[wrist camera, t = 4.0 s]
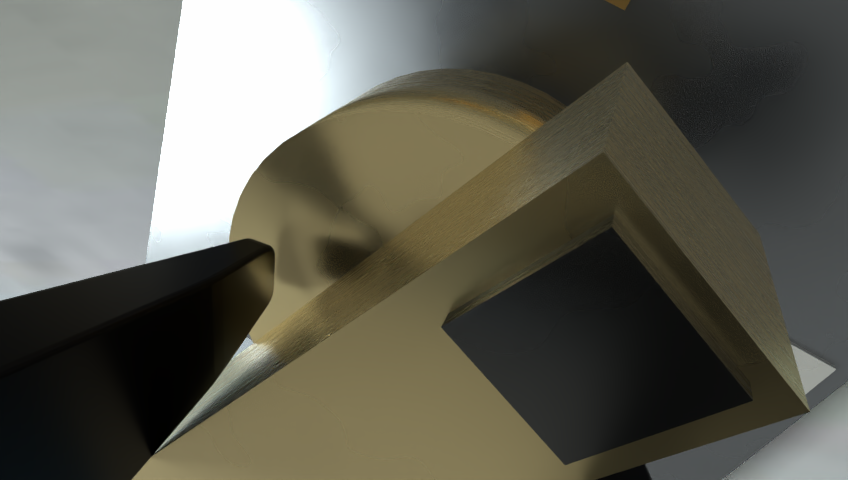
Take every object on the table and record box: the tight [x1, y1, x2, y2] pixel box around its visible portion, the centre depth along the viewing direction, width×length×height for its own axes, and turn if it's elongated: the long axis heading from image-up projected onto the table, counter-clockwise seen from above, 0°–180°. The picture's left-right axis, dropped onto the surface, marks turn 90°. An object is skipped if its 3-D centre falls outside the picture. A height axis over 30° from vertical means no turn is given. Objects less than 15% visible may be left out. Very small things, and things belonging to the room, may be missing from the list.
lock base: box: [146, 0, 848, 480], centre depth 13 cm, size 16×16×4 cm
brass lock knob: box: [132, 62, 810, 480], centre depth 9 cm, size 9×6×5 cm
